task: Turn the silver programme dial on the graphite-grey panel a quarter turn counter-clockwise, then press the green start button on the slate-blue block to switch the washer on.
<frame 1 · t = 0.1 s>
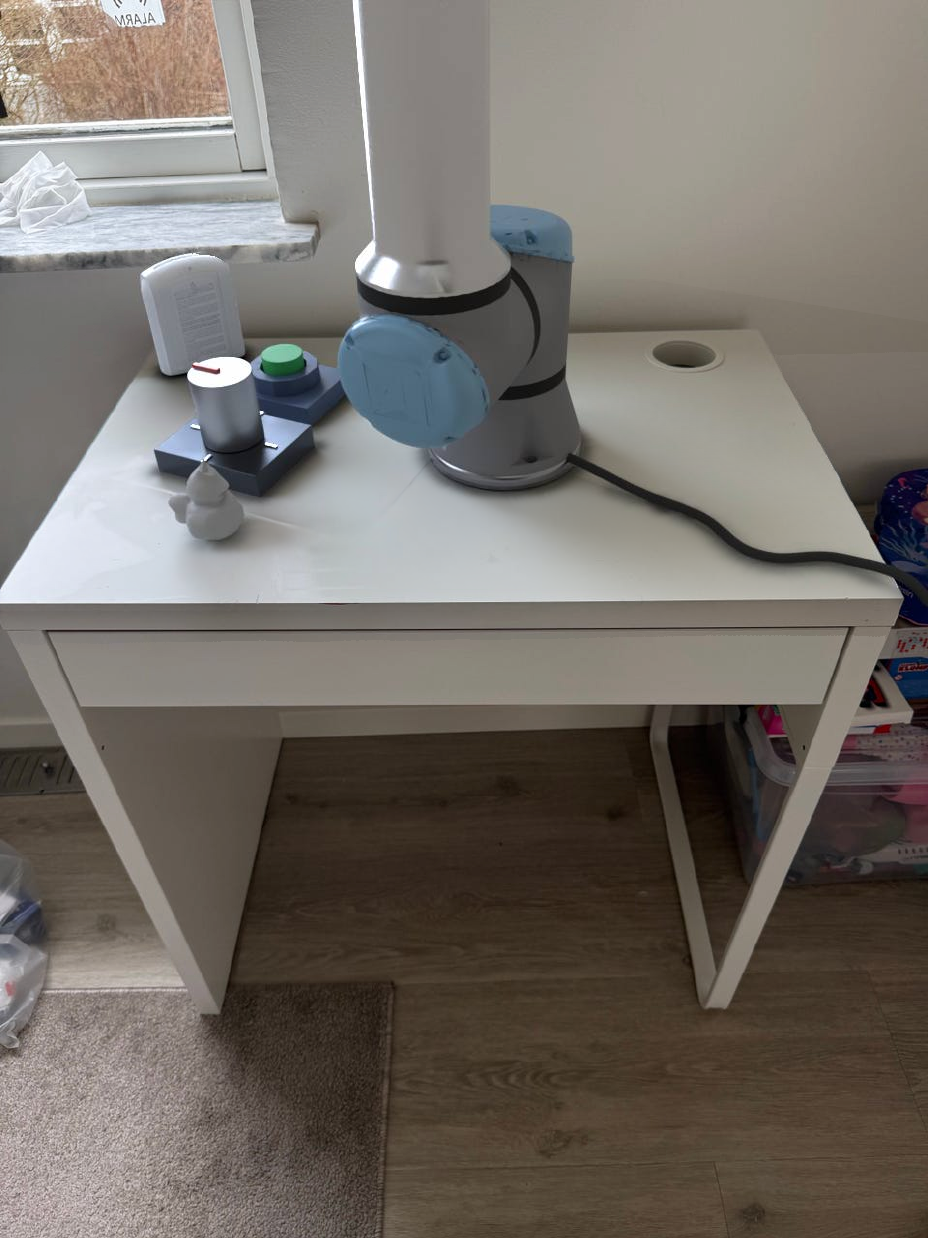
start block: (288, 398, 104), on the table
dial: (226, 403, 91), point 6 cm above the table, hinge at 0.0°
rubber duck: (212, 533, 86), on the table
figurines set: (428, 396, 104), on the table
dial panel: (238, 458, 95), on the table
start button: (282, 360, 101), point 4 cm above the table, slide at 0.1 cm
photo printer: (204, 363, 111), on the table
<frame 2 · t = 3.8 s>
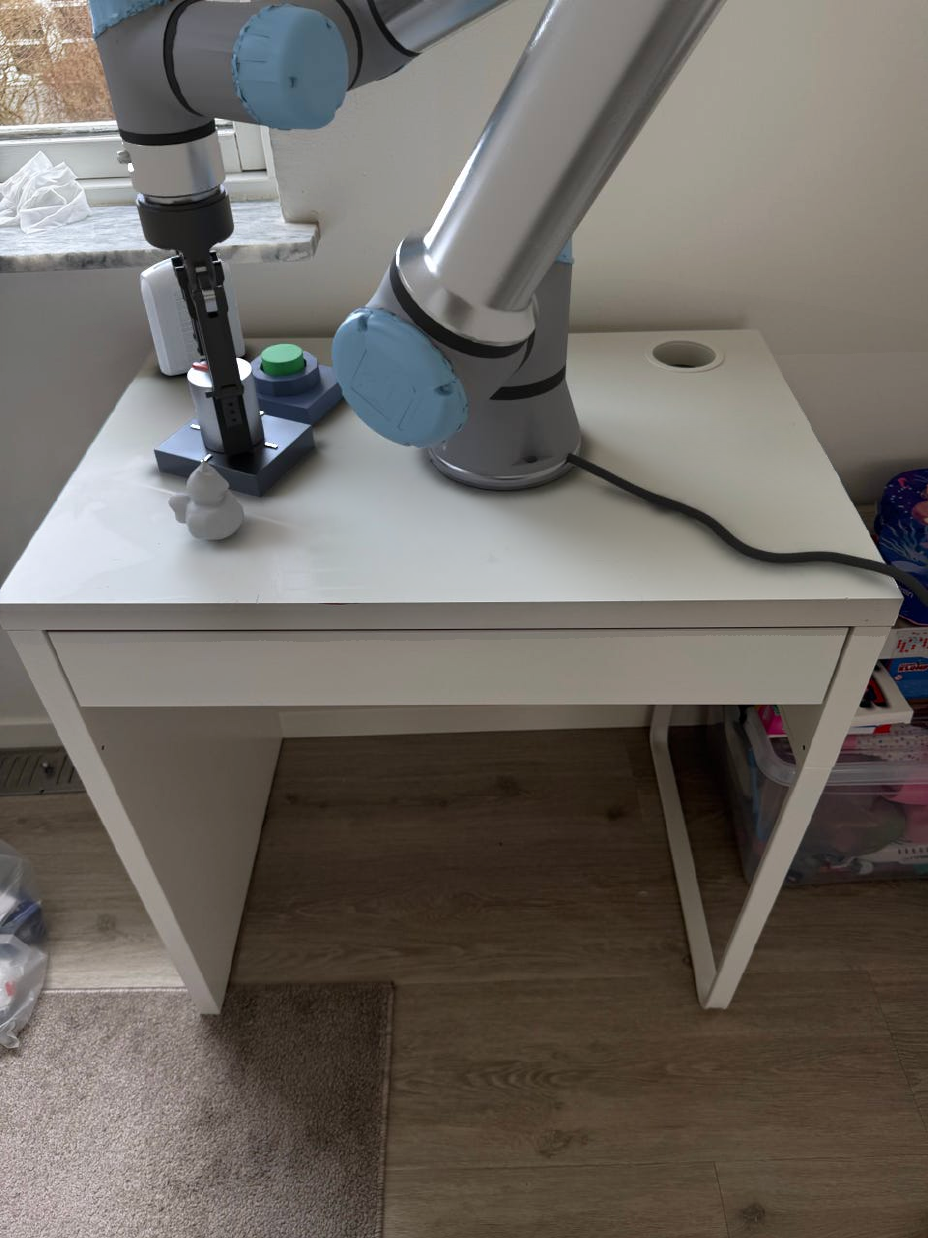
hand: (232, 433, 93), 3 cm above the table, tool pointing down, fingers closed on dial, 6 cm apart
dial: (226, 403, 91), point 6 cm above the table, hinge at 0.0°, touching gripper
everything else where it was.
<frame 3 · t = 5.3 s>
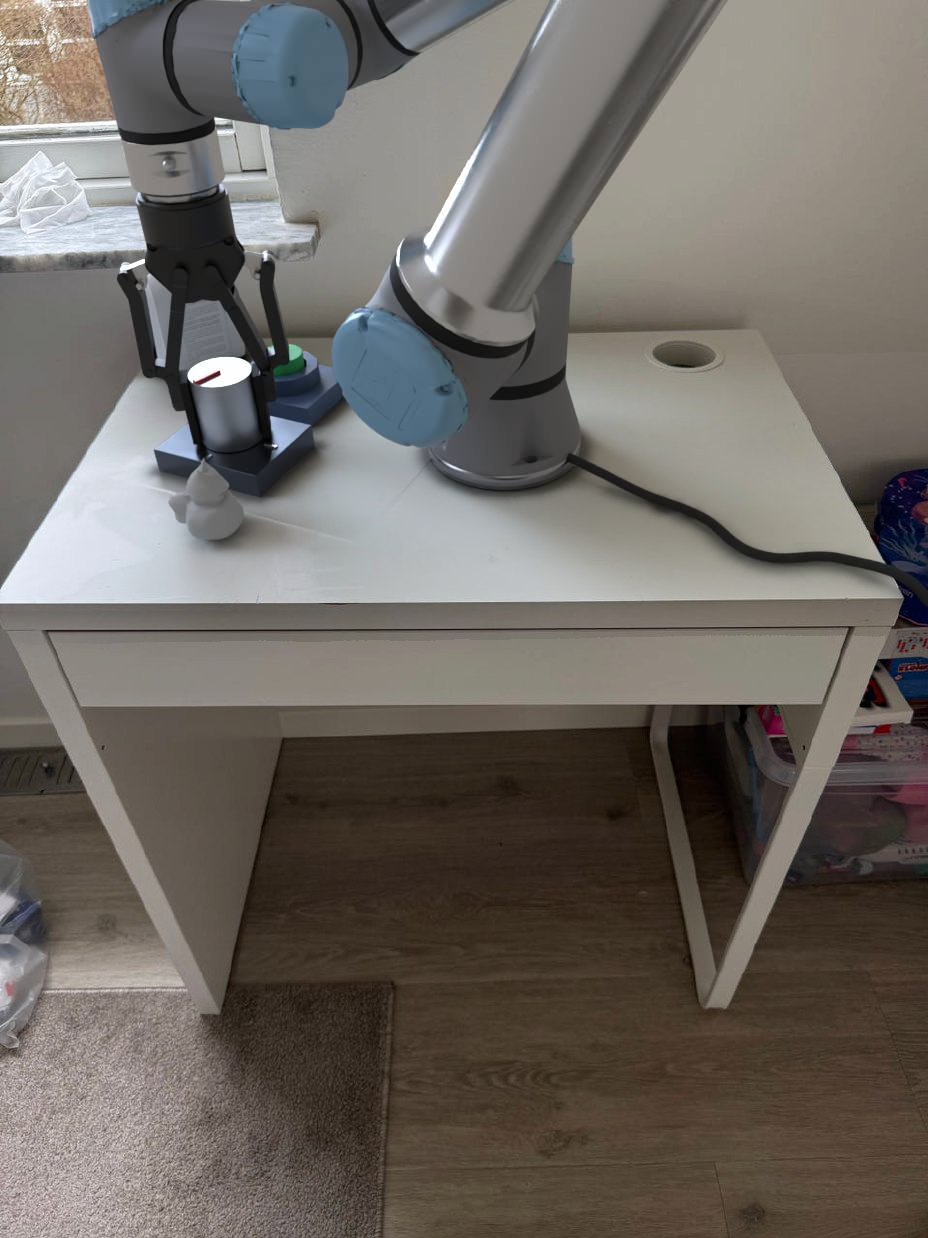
hand: (232, 433, 93), 3 cm above the table, tool pointing down, fingers closed on dial, 6 cm apart
dial: (226, 403, 91), point 6 cm above the table, hinge at 75.7°, touching gripper
everything else where it was.
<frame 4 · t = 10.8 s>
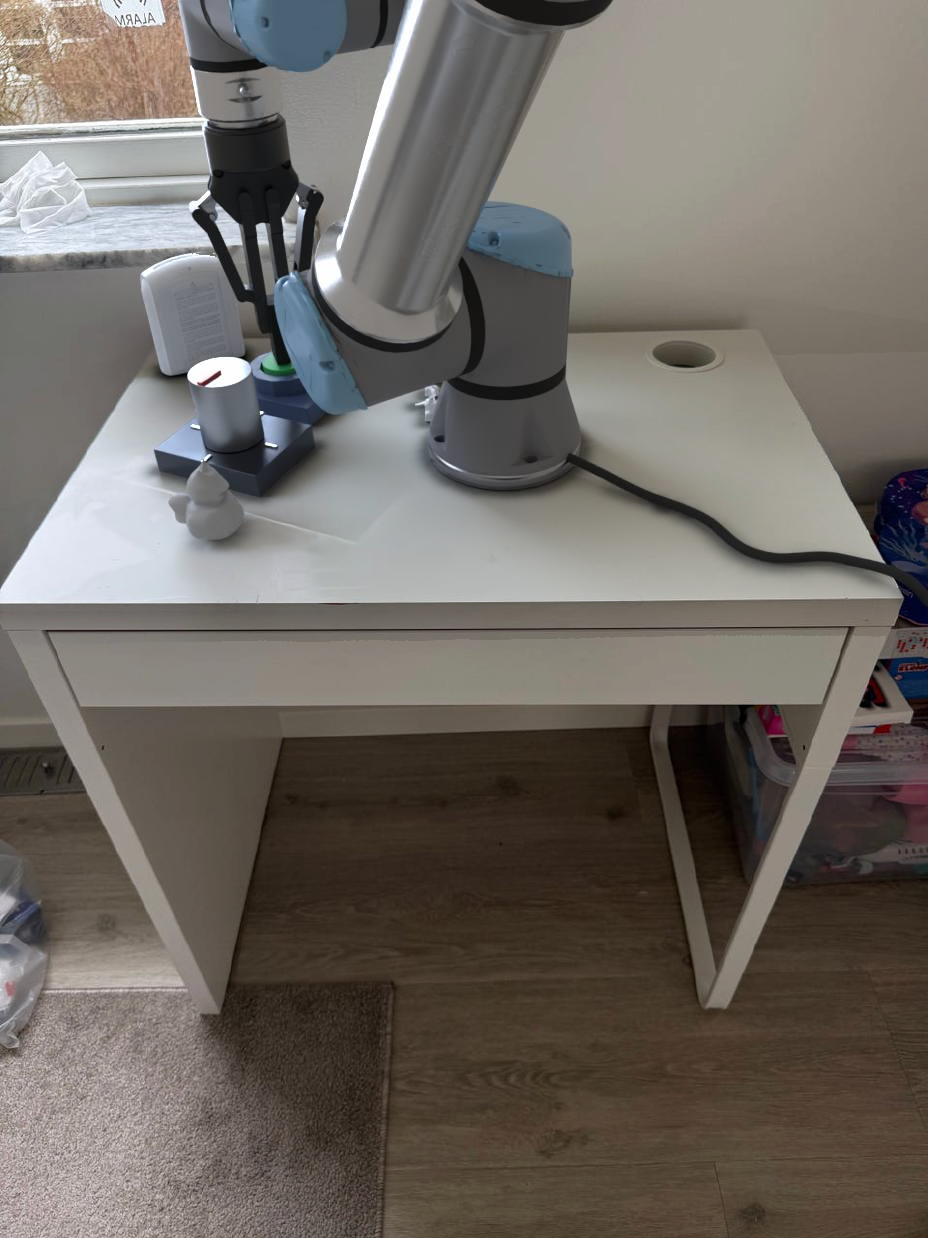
hand: (281, 358, 101), 5 cm above the table, tool pointing down, fingers closed
dial: (226, 403, 91), point 6 cm above the table, hinge at 87.3°
start button: (284, 368, 102), point 4 cm above the table, slide at -0.8 cm, touching gripper
everything else where it was.
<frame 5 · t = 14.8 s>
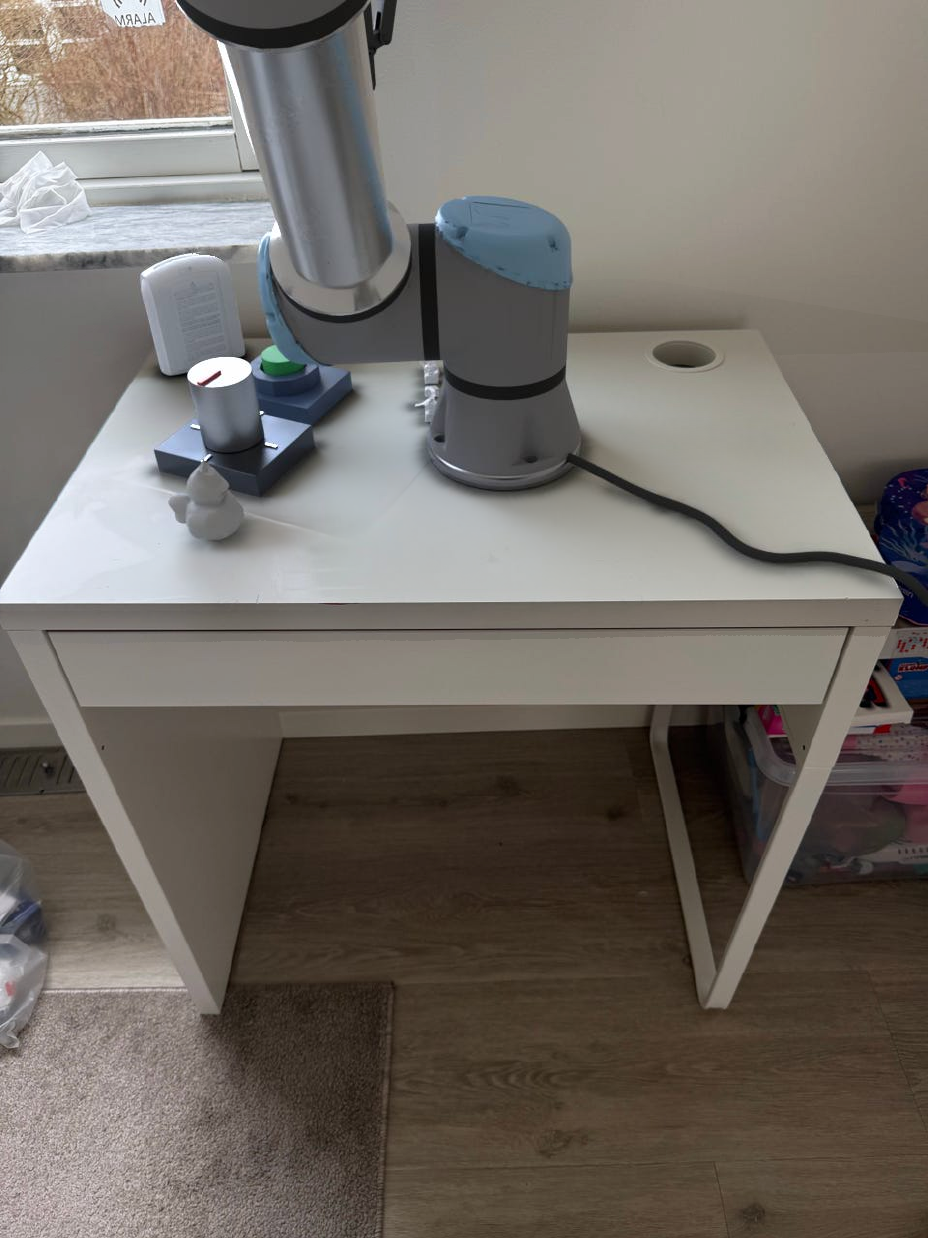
hand: (359, 127, 96), 24 cm above the table, tool pointing down, fingers closed
start button: (282, 360, 101), point 4 cm above the table, slide at 0.1 cm
everything else where it was.
at the end: dial at +87° (first picture: +0°); start button pushed in 1.0 cm at the most during the clip, back to where it started at the end; start button slide at 0.1 cm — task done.
